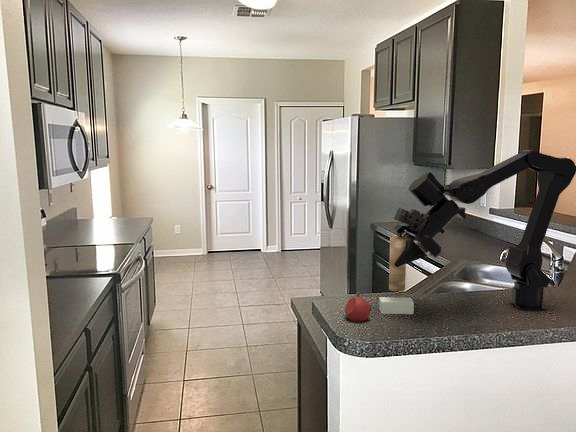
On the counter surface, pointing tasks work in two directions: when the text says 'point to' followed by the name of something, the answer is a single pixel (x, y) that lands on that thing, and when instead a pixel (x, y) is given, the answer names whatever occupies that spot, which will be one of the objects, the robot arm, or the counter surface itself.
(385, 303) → the white block
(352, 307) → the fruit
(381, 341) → the counter surface
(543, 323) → the counter surface
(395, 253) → the oak post
